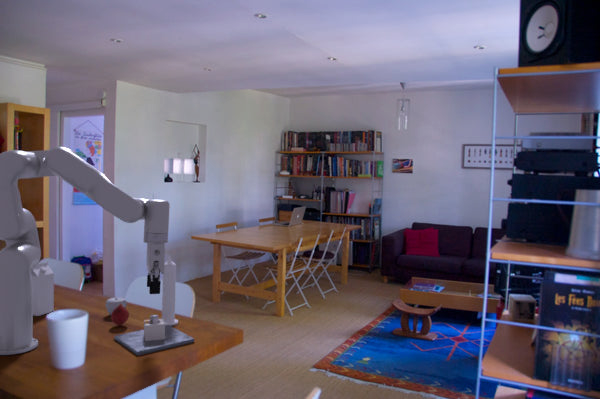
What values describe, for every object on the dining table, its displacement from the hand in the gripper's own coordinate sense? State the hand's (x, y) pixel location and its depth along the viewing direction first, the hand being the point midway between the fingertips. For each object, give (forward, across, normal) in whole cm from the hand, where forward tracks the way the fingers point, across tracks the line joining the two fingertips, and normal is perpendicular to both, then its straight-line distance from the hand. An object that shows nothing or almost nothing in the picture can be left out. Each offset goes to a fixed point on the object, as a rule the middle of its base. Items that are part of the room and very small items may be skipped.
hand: (153, 290), depth 153 cm
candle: (+17, +17, -8) cm, 25 cm away
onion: (+17, +19, +9) cm, 27 cm away
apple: (+17, +33, +10) cm, 39 cm away
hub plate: (+17, 0, -1) cm, 17 cm away
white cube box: (+16, 0, -1) cm, 16 cm away
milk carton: (+18, +43, +37) cm, 60 cm away
